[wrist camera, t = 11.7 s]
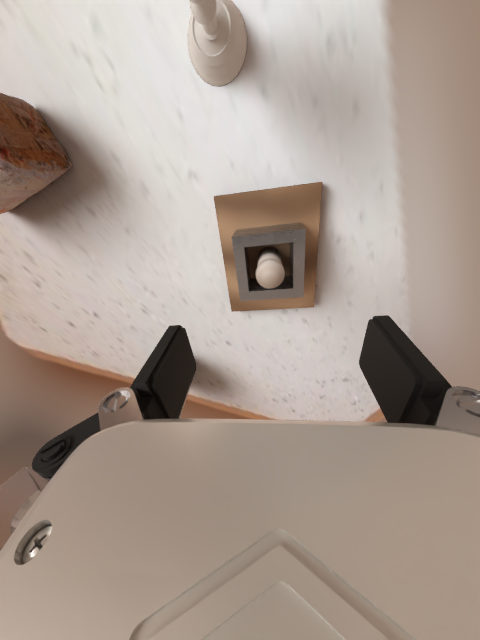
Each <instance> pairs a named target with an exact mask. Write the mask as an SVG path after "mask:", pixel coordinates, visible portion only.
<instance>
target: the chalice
mask: <svg viewBox="0 0 480 640" xmlns="http://www.w3.org/2000/svg"><path fill="white" fill-rule="evenodd" d="M190 8H191V12H192V13H191V17H190V23H189V29H188V35H187V36H188V51H189V55H190V59H191V62H192V65H193V66H194V68H195V70H196V72H197V74H198V75H199V76H200V77H201V78H202V79H203V80H204V81H205V82H207V83H208V84H210V85H212V86H223V85H226V84H228V83H230V82H231V81H232V80H233V79H234V78H235V77H236V76H237V75H238V73H239V71H240V70H241V68H242V66H243V63H244V59H245V55H246V50H247V34H246V28H245V23H244V20H243V18H242V16H241V13H240V11H239V9H238V8H237V7H236V5H235V4H234V3H233V2H232V1H231V0H190Z"/></svg>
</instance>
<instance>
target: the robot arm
mask: <svg viewBox="0 0 480 640" xmlns="http://www.w3.org/2000/svg"><path fill="white" fill-rule="evenodd" d="M359 365H360V368H361V370H362V372H363V374H364V376H365V378H366V380H367V382H368V384H369V386H370V388H371V390H372V392H373V394H374V396H375V398H376V400H377V402H378V404H379V406H380V408H381V410H382V412H383V414H384V416H385V418H386V420H387V422H388V423H384V422H351V421H308V420H254V419H178V418H179V415H180V412H181V410H182V407H183V404H184V401H185V399H186V396H187V393H188V390H189V388H190V385H191V382H192V379H193V376H194V374H195V371H196V362H195V359H194V356H193V353H192V349H191V346H190V343H189V340H188V336H187V333H186V330H185V328H182V326H180V325H175V326H169V327H168V329H167V330H166V332H165V334H164V335H163V337H162V338H161V340H160V341H159V343H158V344H157V346H156V347H155V349H154V351H153V352H152V354H151V355H150V357H149V358H148V360H147V361H146V363H145V365H144V366H143V368H142V369H141V371H140V372H139V374H138V375H137V377H136V378H135V380H134V382H133V384H132V385H131V387H130V388H125V387H124V388H119V389H117V390H114V391H112V392H111V393H109V394H108V395H107V396H105V397H104V398H103V400H102V401H101V402H100V404H99V406H98V413H97V414H95V415H93V416H91V417H89V418H88V419H86V420H84V421H83V422H81V423H79V424H77V425H76V426H74V427H72V428H70V429H69V430H67V431H65V432H64V433H62V434H60V435H58V436H57V437H55V438H53V439H52V440H50V441H49V442H47V443H46V444H45V445H44V446H43V447H42V448H41V449H40V450H39V451H38V453H37V454H36V456H35V457H34V459H33V462H32V466H30V467H29V468H28V469H27V468H25V467H24V468H23V469H21V470H20V471H19V472H18V473H16V474H15V475H14V476H12V477H11V478H10V479H9V480H7V481H6V482H5V483H4V484H3V485H1V486H0V640H480V391H478V390H475V389H472V388H468V387H460V386H457V387H452V386H451V385H450V384H449V383H448V382H447V380H446V379H445V378H444V377H443V376H442V375H441V374H440V373H439V371H438V370H437V369H436V368H435V367H434V366H433V365H432V364H431V363H430V361H428V359H427V358H426V357H425V356H424V355H423V354H422V352H421V351H420V350H419V349H418V348H417V347H416V346H415V345H414V343H413V342H412V341H411V340H410V339H409V338H408V337H407V336H406V335H405V333H404V332H403V331H402V330H401V329H400V328H399V327H398V326H397V324H396V323H395V322H394V321H393V320H392V319H391V318H390V317H389V316H374V317H373V319H370V320H369V322H368V326H367V330H366V334H365V338H364V343H363V347H362V351H361V355H360V360H359Z"/></svg>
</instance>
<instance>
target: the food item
mask: <svg viewBox="0 0 480 640" xmlns="http://www.w3.org/2000/svg"><path fill="white" fill-rule="evenodd" d="M71 166H72V164H71V162H70V160H69V158H68V157H67V155H66V152H65V150H64V149H63V147H62V146H61V144H60V143H59V142H58V141H57V140H56V138H55V137H54V135H53V134H52V132H51V131H50V129H49V128H48V126H47V125H46V123H45V122H44V120H43V119H42V117H41V116H40V115H39V113H38V112H37V111H36V110H35V108H34V107H33V106H31V105H30V104H28V103H27V102H25V101H24V100H22V99H19V98H15V97H11V96H7V95H5V94H2V93H0V214H2V213H5V212H7V211H9V210H11V209H13V208H15V207H17V206H18V205H19V204H21V203H22V202H24V201H25V200H26V199H28V198H29V197H30V196H32V195H34V194H36V193H37V192H39V191H41V190H42V189H44V188H45V187H46V186H47V185H49V184H50V183H52V182H53V181H54V180H56V179H57V178H59V177H60V176H61V175H63V174H64V173H66V172H67V170H69V168H70V167H71Z"/></svg>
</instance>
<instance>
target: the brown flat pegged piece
mask: <svg viewBox="0 0 480 640" xmlns="http://www.w3.org/2000/svg"><path fill="white" fill-rule="evenodd" d="M321 193H322V182H317V183H309V184H302V185H294V186H287V187H279V188H272V189H265V190H257V191H250V192H242V193H235V194H227V195H220V196H214V201H215V208H216V214H217V220H218V227H219V233H220V239H221V246H222V252H223V259H224V265H225V271H226V278H227V284H228V290H229V297H230V303H231V310H232V311H249V310H268V309H287V308H305V307H314V298H315V283H316V268H317V253H318V238H319V223H320V208H321ZM298 222H300V223H301V224H302V225H303V226H304V227H305V229H306V236H305V268H304V297H296V298H281V299H265V300H250V301H240V296H239V288H238V281H237V274H236V266H235V259H234V252H233V244H232V235H233V234H234V232H235V231H236V230H237V229H246V228H255V227H263V226H272V225H281V224H289V223H298ZM248 254H249V264H250V274H251V278H256V279H257V281H258V283H259V284H260V285H261V286H262V287H264V288H268V289H271V288H275V287H277V286H279V285H280V284H281V283H282V281H283V279H284V276H286V275H290V243H282V244H272V245H262V246H252V247H248Z"/></svg>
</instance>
